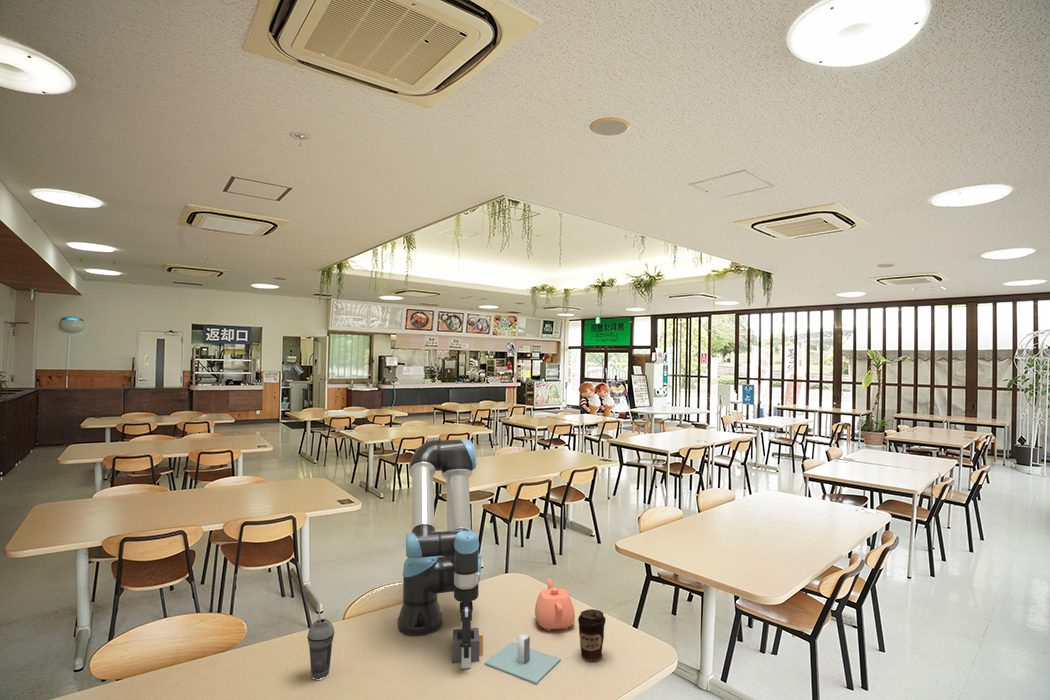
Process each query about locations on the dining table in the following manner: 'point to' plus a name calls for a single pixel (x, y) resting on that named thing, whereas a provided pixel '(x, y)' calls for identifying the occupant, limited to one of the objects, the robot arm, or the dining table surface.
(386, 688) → the dining table surface
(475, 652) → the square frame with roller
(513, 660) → the board
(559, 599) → the teapot
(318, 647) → the beverage cup
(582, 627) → the coffee cup
